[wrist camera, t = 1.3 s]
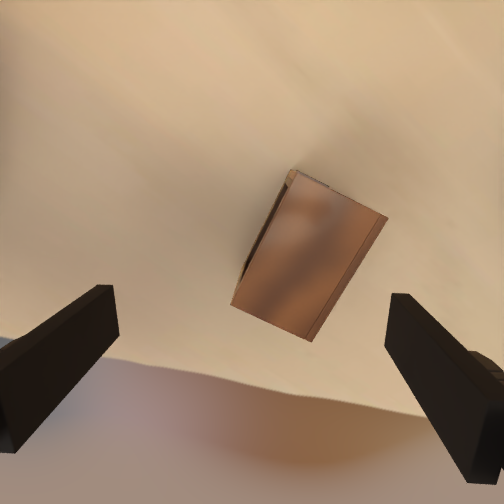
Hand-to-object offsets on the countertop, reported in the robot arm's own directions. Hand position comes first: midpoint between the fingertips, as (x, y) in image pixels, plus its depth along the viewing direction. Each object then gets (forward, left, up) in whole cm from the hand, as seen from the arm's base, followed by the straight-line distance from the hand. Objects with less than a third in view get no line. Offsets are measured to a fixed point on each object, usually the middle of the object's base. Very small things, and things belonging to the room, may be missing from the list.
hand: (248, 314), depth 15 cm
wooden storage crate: (+5, 0, -25) cm, 26 cm away
